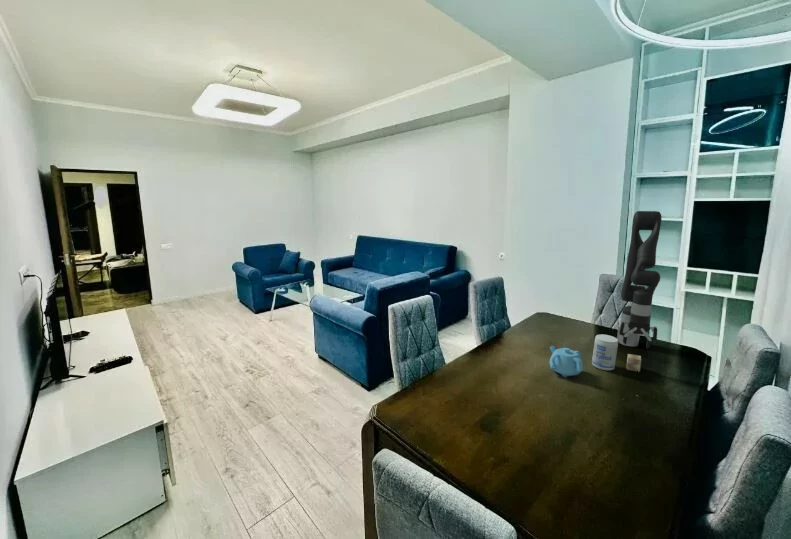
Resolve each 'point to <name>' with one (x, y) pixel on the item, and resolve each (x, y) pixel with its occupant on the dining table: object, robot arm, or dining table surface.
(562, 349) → the teapot
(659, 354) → the dining table surface
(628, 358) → the maple block
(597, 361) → the supplement tub
